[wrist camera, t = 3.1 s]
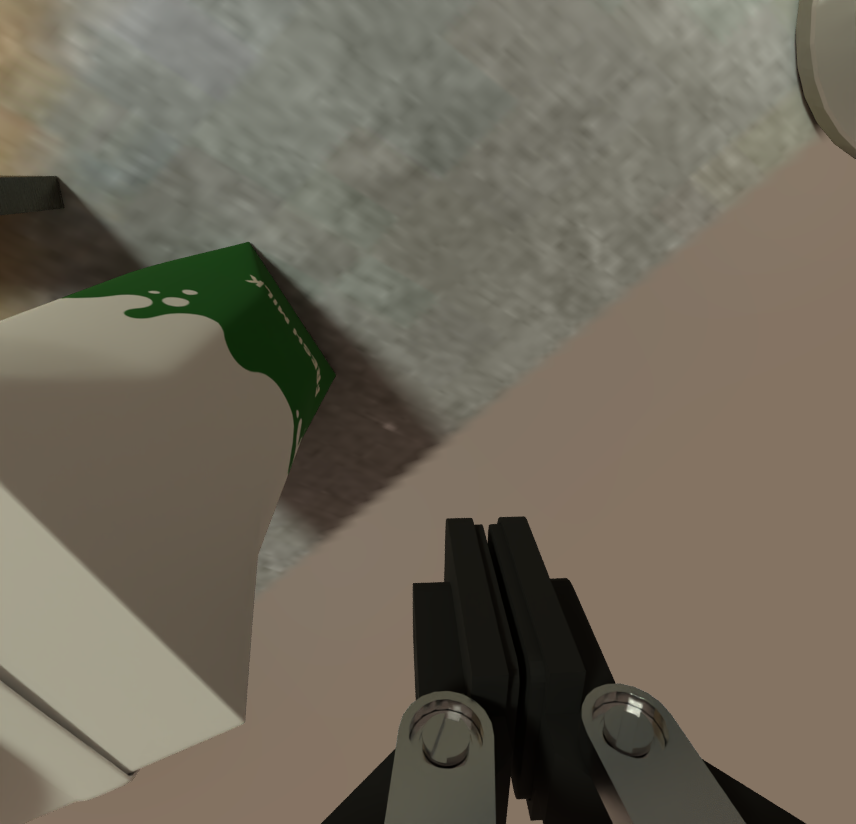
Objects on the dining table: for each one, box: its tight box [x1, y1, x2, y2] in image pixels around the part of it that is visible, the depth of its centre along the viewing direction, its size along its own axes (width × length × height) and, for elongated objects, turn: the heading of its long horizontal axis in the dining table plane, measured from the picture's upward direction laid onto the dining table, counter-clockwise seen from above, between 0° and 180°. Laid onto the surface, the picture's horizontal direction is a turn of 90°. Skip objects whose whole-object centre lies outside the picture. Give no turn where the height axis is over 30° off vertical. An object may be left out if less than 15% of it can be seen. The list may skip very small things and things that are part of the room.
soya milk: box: [0, 242, 336, 824], centre depth 16 cm, size 9×9×20 cm
